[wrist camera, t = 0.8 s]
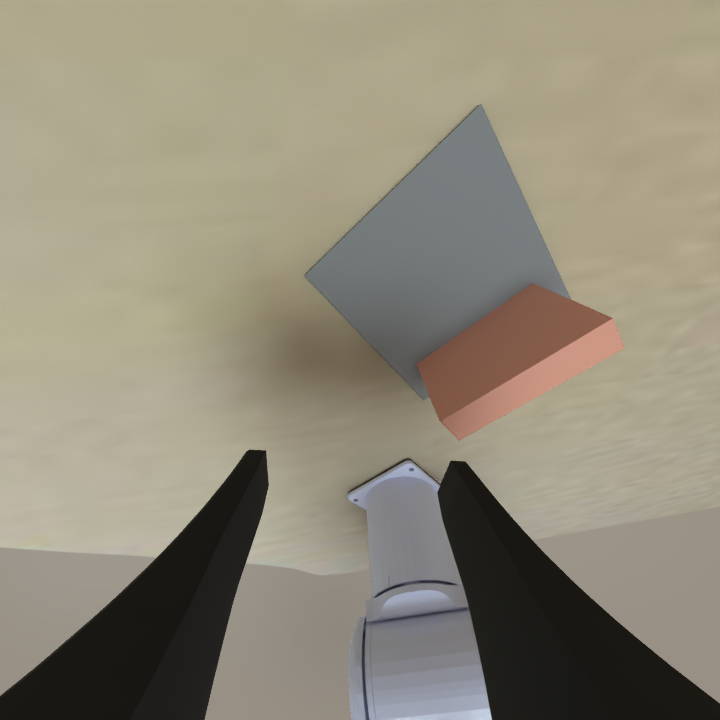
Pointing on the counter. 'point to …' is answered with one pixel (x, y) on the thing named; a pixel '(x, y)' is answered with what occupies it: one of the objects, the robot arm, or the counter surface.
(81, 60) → the counter surface
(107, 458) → the counter surface
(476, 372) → the block
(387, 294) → the mat
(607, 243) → the counter surface
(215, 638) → the robot arm
